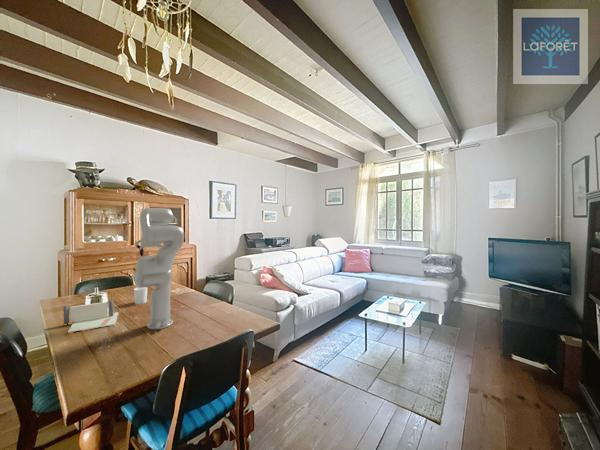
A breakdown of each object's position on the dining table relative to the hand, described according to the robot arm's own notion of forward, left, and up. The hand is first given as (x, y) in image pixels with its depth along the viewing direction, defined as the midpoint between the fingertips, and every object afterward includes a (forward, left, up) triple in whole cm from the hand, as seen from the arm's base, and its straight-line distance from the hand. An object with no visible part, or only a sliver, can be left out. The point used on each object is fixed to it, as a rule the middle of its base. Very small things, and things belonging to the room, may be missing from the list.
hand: (151, 255), depth 150 cm
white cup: (+21, +6, -35) cm, 41 cm away
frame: (-5, +28, -35) cm, 45 cm away
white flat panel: (0, +30, -34) cm, 45 cm away
